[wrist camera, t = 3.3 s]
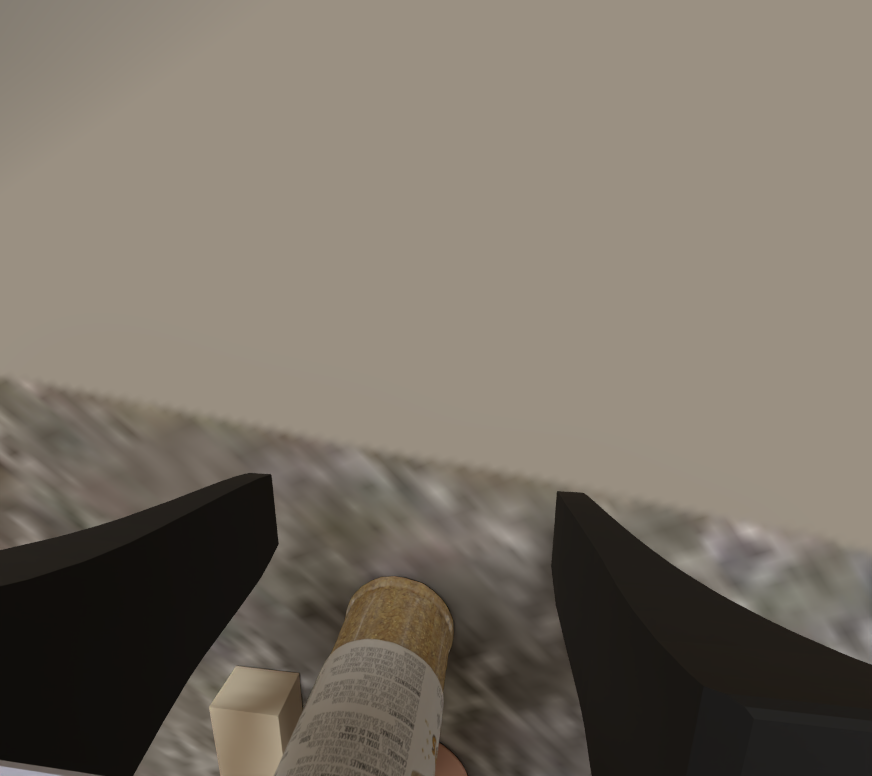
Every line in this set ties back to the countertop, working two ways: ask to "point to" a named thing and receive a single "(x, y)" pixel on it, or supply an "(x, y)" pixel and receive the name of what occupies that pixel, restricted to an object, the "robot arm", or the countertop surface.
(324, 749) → the sprinkles bottle
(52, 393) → the countertop surface
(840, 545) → the countertop surface
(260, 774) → the wooden bar with disc
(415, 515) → the countertop surface
